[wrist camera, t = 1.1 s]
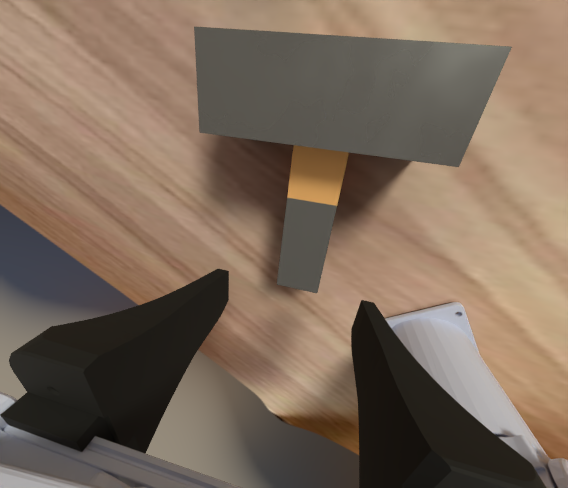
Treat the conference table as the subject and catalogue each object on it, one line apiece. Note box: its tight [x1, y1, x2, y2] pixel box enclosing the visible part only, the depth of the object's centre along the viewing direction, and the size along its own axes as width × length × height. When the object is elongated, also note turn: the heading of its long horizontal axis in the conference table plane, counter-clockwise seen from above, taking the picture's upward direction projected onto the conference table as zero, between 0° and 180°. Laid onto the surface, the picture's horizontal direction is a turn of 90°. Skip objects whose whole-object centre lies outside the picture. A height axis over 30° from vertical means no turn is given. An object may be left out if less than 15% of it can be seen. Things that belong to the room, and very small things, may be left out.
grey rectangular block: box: [194, 27, 512, 167], centre depth 12 cm, size 4×12×6 cm, turn 84°
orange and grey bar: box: [277, 145, 349, 293], centre depth 15 cm, size 13×3×4 cm, turn 173°
